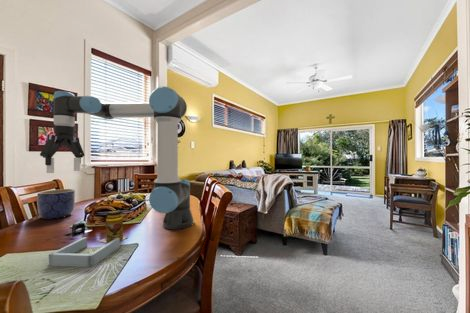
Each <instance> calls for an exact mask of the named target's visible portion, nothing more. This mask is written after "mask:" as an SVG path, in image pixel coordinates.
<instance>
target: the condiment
mask: <svg viewBox="0 0 470 313" xmlns="http://www.w3.org/2000/svg"><path fill="white" fill-rule="evenodd" d="M122 213H123V212H122V210H121V209H118V210H113V211H109V212H108V213H107V217H106V220H105V237H106V238H103V239H100V240H98V242H100V243H101V242H102V243H106V244H108V243H109V242H111V241H112V240H114V239H116V238H120V242H121V241H124V240H126V239H127V238H129V237H128V236H125V235H124V217H123V216H122V215H123V214H122Z"/></svg>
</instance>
